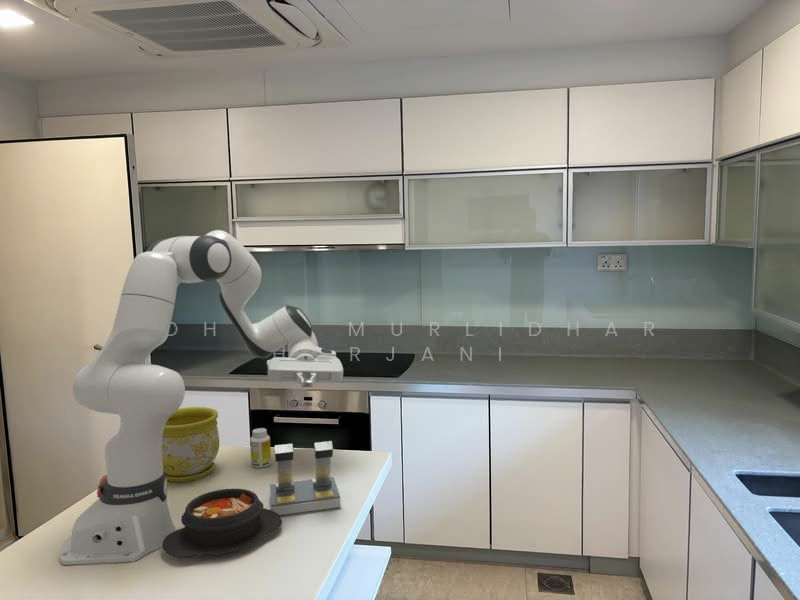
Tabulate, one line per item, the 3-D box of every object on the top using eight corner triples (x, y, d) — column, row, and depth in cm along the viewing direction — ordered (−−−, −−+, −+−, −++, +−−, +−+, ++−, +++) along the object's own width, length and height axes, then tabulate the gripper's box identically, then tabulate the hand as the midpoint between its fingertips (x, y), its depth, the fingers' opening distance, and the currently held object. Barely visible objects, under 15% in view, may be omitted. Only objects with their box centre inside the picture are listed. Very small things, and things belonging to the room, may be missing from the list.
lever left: (276, 495, 144) (274, 453, 135) (275, 487, 145) (273, 445, 137) (294, 493, 145) (294, 451, 136) (293, 485, 146) (293, 443, 138)
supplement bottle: (272, 460, 174) (270, 426, 173) (270, 467, 168) (268, 432, 167) (253, 461, 173) (251, 427, 172) (250, 469, 168) (248, 434, 167)
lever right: (313, 491, 146) (314, 451, 136) (312, 482, 148) (313, 442, 138) (331, 488, 147) (333, 449, 137) (330, 480, 149) (332, 440, 139)
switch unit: (271, 518, 138) (271, 504, 138) (270, 495, 150) (269, 483, 150) (340, 508, 142) (340, 495, 142) (334, 487, 154) (333, 475, 153)
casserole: (264, 508, 144) (263, 474, 143) (295, 540, 128) (293, 502, 127) (154, 539, 130) (152, 502, 129) (174, 579, 115) (171, 537, 114)
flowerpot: (216, 483, 159) (212, 423, 157) (145, 489, 156) (140, 428, 154) (225, 458, 176) (222, 404, 175) (162, 463, 174) (158, 408, 172)
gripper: (267, 348, 165) (266, 373, 152) (341, 351, 169) (346, 375, 157) (266, 369, 167) (265, 394, 154) (338, 370, 172) (344, 395, 159)
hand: (306, 384), depth 156 cm, fingers closed
